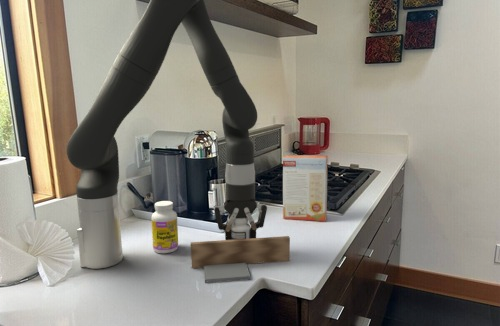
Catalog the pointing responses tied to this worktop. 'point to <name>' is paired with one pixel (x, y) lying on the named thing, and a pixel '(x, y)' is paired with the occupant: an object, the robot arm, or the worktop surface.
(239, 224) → the pill bottle
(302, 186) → the cracker box
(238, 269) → the grey pad
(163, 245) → the supplement bottle
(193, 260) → the walnut screen
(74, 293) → the worktop surface
